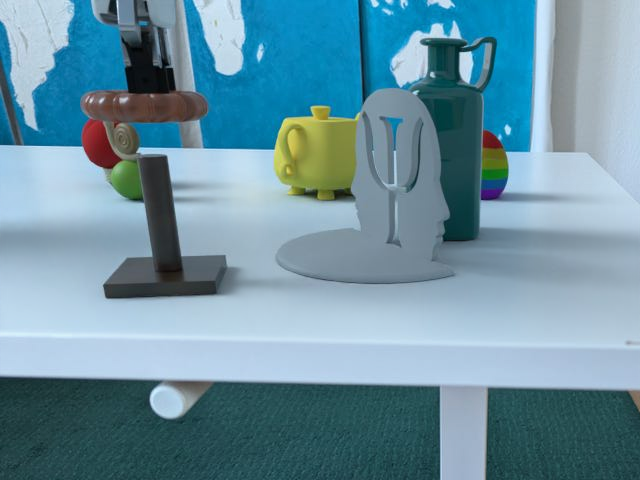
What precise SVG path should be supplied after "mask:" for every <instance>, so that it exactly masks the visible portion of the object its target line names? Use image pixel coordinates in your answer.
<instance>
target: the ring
mask: <svg viewBox="0 0 640 480" xmlns="http://www.w3.org/2000/svg"><path fill="white" fill-rule="evenodd" d="M169 91H170V94H129V93H128V89H101V90H93V91H91V90H90V91H88V92H86V93H83V95H82V96H81V98H80V103H79V104H80V109H81V111H82V113H83V114H84V115H85V116H86V117H87V118H89V119H94V120H98V121H102V122H117V123H129V124H168V123H169V124H173V123H186V122H197V121H199V120H201V119H204V118H205V117H206V116H207V115H208V113H209V111H210V103H209V101H208V99H207V98H206V97H205V96H204V95H203V94H202V93H200V92H197V91H190V90H177V89H176V90H169Z"/></svg>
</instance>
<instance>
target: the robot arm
mask: <svg viewBox="0 0 640 480" xmlns="http://www.w3.org/2000/svg"><path fill="white" fill-rule="evenodd" d="M90 2H91V9H92V13H93V16H94V17H95V19H96V20H97V21H98V22H100V23H101V24H102V25H105V26H110V27H117V28H118V31H119V38H120V45H121V52H122V58H123V59H122V60H123V63H124V66H125V67H124V74H125V80H126V87H127V90H128V93H129V94H170V91H169V90H176V91H177V85H176V78H175V71H174V67H172V57H171V49H170V43H169V37H168V36H169V35H168V30H169V29H171V28H173V27H174V26H175V25H176V23H177V22H176V20H177V18H176V17H177V16H176V15H177V14H176V5H175V4H176V3H175V0H90ZM140 23H146V24H140Z"/></svg>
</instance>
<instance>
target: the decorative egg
mask: <svg viewBox="0 0 640 480" xmlns="http://www.w3.org/2000/svg"><path fill="white" fill-rule="evenodd" d="M509 165H510V164H509V160H508V155H507V152H506V150H505V147H504V145H503V143H502V141H501V140H500V139H499V137H498V136H497V135H496V134H494V133H493V132H492V131H490V130H488V129H483V139H482V172H481V200H493V199H498V198H499V197H501V195H502V193H503V192H504V190H505V189H506V186H507V184H508V180H509V172H510V169H509V167H510V166H509Z"/></svg>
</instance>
